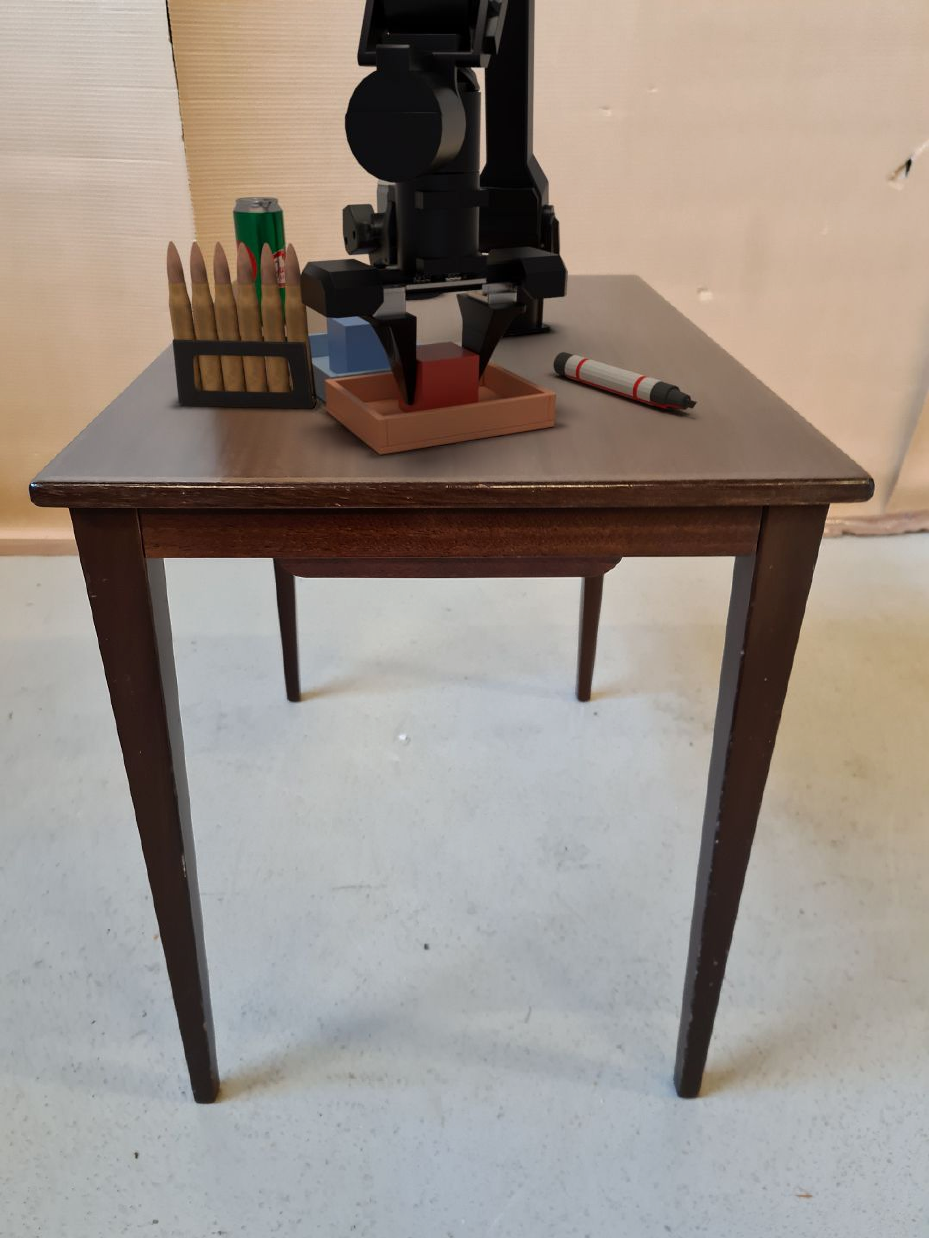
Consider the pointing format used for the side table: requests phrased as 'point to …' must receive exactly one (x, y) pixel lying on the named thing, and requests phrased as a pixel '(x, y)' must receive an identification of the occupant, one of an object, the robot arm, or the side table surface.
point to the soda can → (262, 237)
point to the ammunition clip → (217, 357)
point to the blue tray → (322, 364)
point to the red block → (443, 377)
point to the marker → (622, 382)
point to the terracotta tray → (438, 411)
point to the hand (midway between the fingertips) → (438, 399)
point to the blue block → (354, 346)
